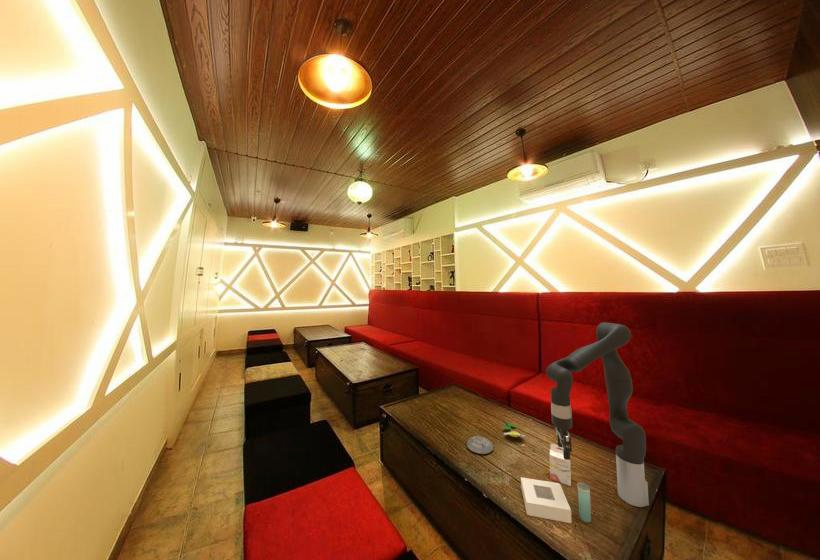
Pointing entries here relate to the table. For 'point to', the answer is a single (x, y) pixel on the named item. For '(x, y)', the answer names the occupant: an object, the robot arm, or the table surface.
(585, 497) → the peg
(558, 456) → the ink cartridge box
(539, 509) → the socket board
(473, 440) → the flying saucer
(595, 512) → the table surface
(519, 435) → the decorative flower
